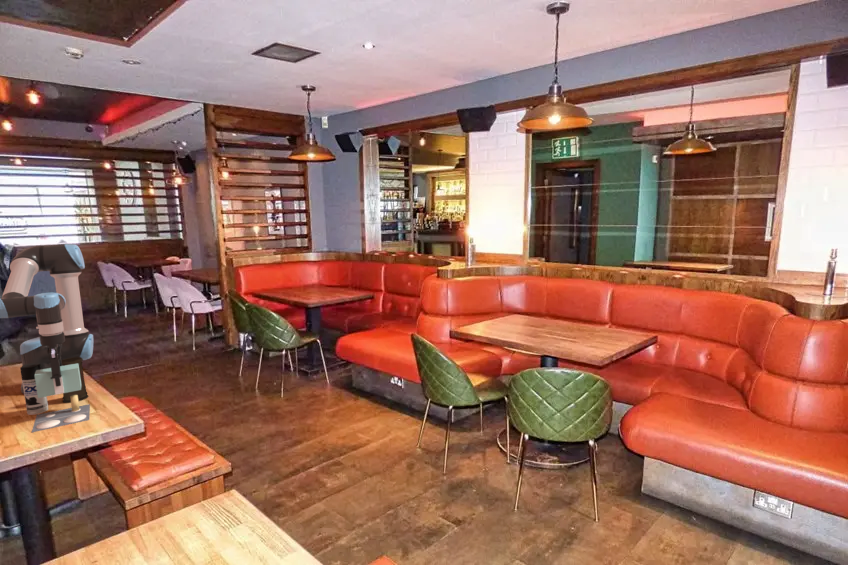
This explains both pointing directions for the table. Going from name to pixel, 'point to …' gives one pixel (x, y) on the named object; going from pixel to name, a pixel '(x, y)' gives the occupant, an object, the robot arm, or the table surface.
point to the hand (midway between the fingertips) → (60, 390)
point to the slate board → (62, 416)
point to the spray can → (32, 389)
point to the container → (81, 393)
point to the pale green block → (68, 376)
